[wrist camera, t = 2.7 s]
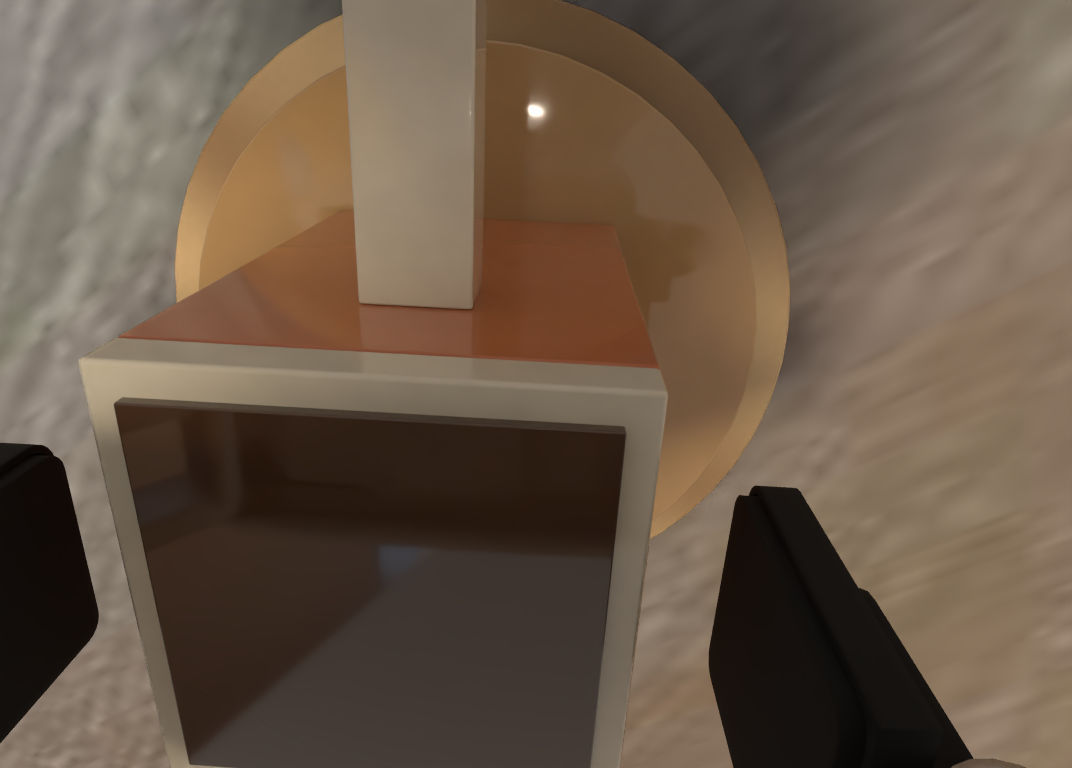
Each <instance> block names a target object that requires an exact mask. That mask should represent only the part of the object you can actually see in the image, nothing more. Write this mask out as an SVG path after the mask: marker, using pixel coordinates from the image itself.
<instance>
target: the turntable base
mask: <svg viewBox="0 0 1072 768" xmlns="http://www.w3.org/2000/svg"><path fill="white" fill-rule="evenodd" d="M486 39H488V40H496V41H504V42H513V43H521V44H525V45H528V46H532V47H536V48H539V49H543V50H547V51H551V52H554V53H558V54H562V55H564V56H567V57H569V58H571V59H574V60H576V61H578V62H581V63H583V64H585V65H587V66H590V67H592V68H594V69H597V70H599V71H601V72H603V73H605V74H606V75H608V76H610V77H611V78H613V79H615V80H616V81H618V82H619V83H621V84H623V85H624V86H626V87H628V88H629V89H631V90H633V91H634V92H636V93H637V94H639V95H640V96H641V97H642V98H644V99H645V100H646V101H647V102H648V103H650V104H651V105H652V106H653V107H655V108H656V109H657V110H658V111H659V112H661V113H662V114H663V115H664V116H665V117H667V118H668V119H669V120H670V121H671V122H672V123H673V124H674V125H675V126H676V127H677V128H678V130H679V131H680V132H681V133H682V134H683V135H684V136H685V137H686V138H687V139H688V141H689V142H690V143H691V144H692V145H693V146H694V147H695V148H696V149H697V150H698V152H699V153H700V155H701V156H702V158H703V159H704V161H705V162H706V164H707V165H708V166H709V168H710V169H711V171H712V172H713V174H714V175H715V177H716V178H717V180H718V181H719V183H720V184H721V186H722V188H723V190H724V192H725V194H726V196H727V198H728V201H729V203H730V205H731V207H732V209H733V211H734V213H735V215H736V217H737V219H738V222H739V225H740V228H741V231H742V234H743V237H744V240H745V244H746V247H747V250H748V253H749V257H750V262H751V268H752V274H753V280H754V285H755V291H756V321H757V329H756V338H755V347H754V357H753V363H752V367H751V371H750V375H749V379H748V383H747V387H746V391H745V395H744V398H743V400H742V403H741V405H740V408H739V410H738V413H737V415H736V418H735V420H734V423H733V425H732V427H731V429H730V431H729V432H728V434H727V436H726V438H725V439H724V441H723V443H722V445H721V446H720V448H719V450H718V452H717V453H716V455H715V456H714V458H713V459H712V460H711V462H710V463H709V464H708V466H707V467H706V468H705V470H704V471H703V472H702V474H701V475H700V476H699V478H698V479H697V480H696V481H695V482H694V483H693V484H692V485H691V487H690V488H689V489H688V490H687V491H686V492H685V493H684V494H683V495H682V496H681V497H680V498H679V499H678V500H677V501H676V502H675V503H674V504H673V505H671V506H670V507H669V508H668V509H666V510H665V511H664V512H663V513H661V514H660V515H659V516H658V517H656V518H655V519H654V520H653V521H652V526H651V534H650V539H651V538H653V537H654V536H656V535H658V534H660V533H661V532H662V531H664V530H665V529H667V528H668V527H669V526H671V525H672V524H674V523H675V522H676V521H678V520H679V519H680V518H682V517H683V516H685V515H686V514H687V513H688V512H690V511H691V510H692V509H693V508H694V507H695V506H696V505H697V504H698V503H699V502H700V501H701V500H702V499H704V498H705V497H706V496H707V495H708V494H709V493H710V492H711V491H712V490H713V489H714V488H715V487H716V486H717V484H718V483H719V482H720V481H721V480H722V478H723V477H724V476H725V475H726V474H727V472H728V471H729V470H730V469H731V468H732V467H733V465H734V464H735V463H736V462H737V460H738V458H739V457H740V455H741V454H742V452H743V451H744V449H745V447H746V446H747V444H748V443H749V441H750V440H751V438H752V437H753V435H754V433H755V432H756V430H757V428H758V425H759V423H760V421H761V419H762V417H763V415H764V413H765V411H766V408H767V406H768V404H769V402H770V400H771V397H772V394H773V391H774V388H775V385H776V381H777V378H778V375H779V372H780V369H781V366H782V362H783V356H784V351H785V345H786V339H787V333H788V328H789V308H790V279H789V269H788V260H787V251H786V243H785V240H784V236H783V232H782V228H781V224H780V220H779V216H778V212H777V208H776V204H775V202H774V199H773V197H772V194H771V192H770V190H769V187H768V185H767V182H766V180H765V177H764V175H763V172H762V170H761V168H760V165H759V163H758V162H757V160H756V158H755V156H754V155H753V153H752V151H751V150H750V148H749V146H748V145H747V143H746V141H745V139H744V138H743V136H742V134H741V133H740V131H739V129H738V128H737V126H736V125H735V124H734V122H733V121H732V120H731V119H730V117H729V116H728V115H727V114H726V112H725V111H724V110H723V109H722V107H721V106H720V105H719V104H718V102H717V101H716V100H715V99H714V97H713V96H712V95H711V94H710V92H709V91H708V90H707V89H706V88H705V87H704V86H703V85H702V84H701V83H699V82H698V81H697V80H696V79H695V78H694V77H693V76H692V75H691V74H690V73H689V72H688V71H687V70H686V69H684V68H683V67H682V66H681V65H680V64H679V63H678V62H677V61H676V60H675V59H674V58H672V57H671V56H669V55H668V54H666V53H665V52H664V51H662V50H661V49H659V48H658V47H656V46H655V45H653V44H652V43H651V42H649V41H648V40H646V39H645V38H643V37H642V36H641V35H639V34H638V33H636V32H634V31H632V30H630V29H628V28H626V27H624V26H622V25H620V24H618V23H616V22H614V21H612V20H610V19H608V18H606V17H604V16H602V15H600V14H598V13H596V12H594V11H592V10H589V9H586V8H583V7H580V6H577V5H574V4H571V3H568V2H565V1H562V0H487V16H486ZM344 65H345V50H344V32H343V14H342V15H340V16H338V17H335V18H333V19H331V20H329V21H327V22H325V23H323V24H320V25H319V26H317V27H316V28H314V29H313V30H311V31H310V32H308V33H307V34H305V35H304V36H302V37H301V38H299V39H298V40H296V41H295V42H293V43H292V44H290V45H289V46H287V47H286V48H284V49H283V50H281V51H280V52H279V53H278V54H277V55H276V56H275V57H274V58H273V59H272V60H271V61H269V62H268V63H267V64H266V65H265V66H264V67H263V68H262V69H261V70H260V71H259V72H257V73H256V74H255V75H254V76H253V77H252V78H251V79H250V80H249V81H248V83H247V84H246V85H245V86H244V88H243V89H242V90H241V91H240V93H239V94H238V95H237V96H236V98H235V99H234V100H233V101H232V103H231V104H230V105H229V106H228V108H227V109H226V110H225V111H224V113H223V114H222V116H221V118H220V119H219V121H218V123H217V125H216V126H215V128H214V130H213V132H212V133H211V135H210V137H209V138H208V140H207V142H206V144H205V145H204V147H203V149H202V151H201V154H200V157H199V159H198V162H197V164H196V167H195V169H194V172H193V174H192V177H191V179H190V182H189V185H188V187H187V191H186V196H185V200H184V204H183V209H182V213H181V217H180V221H179V226H178V236H177V247H176V258H175V279H176V299H177V303H178V302H179V301H181V300H183V299H185V298H186V297H188V296H190V295H192V294H193V293H195V292H197V291H199V275H200V260H201V255H202V250H203V245H204V240H205V235H206V230H207V225H208V223H209V220H210V217H211V214H212V211H213V209H214V206H215V203H216V200H217V197H218V194H219V192H220V190H221V188H222V186H223V184H224V182H225V180H226V179H227V177H228V175H229V173H230V171H231V169H232V167H233V165H234V164H235V162H236V160H237V158H238V157H239V156H240V154H241V153H242V151H243V150H244V149H245V147H246V146H247V145H248V143H249V142H250V141H251V139H252V138H253V137H254V135H255V134H256V133H257V131H258V130H259V129H260V128H261V127H262V126H263V125H264V124H265V123H266V122H267V121H268V120H269V119H270V118H271V117H272V116H273V115H274V114H275V113H276V112H277V111H278V110H279V109H280V108H281V107H282V106H283V105H284V104H285V103H286V102H287V101H288V100H290V99H291V98H293V97H294V96H295V95H297V94H298V93H300V92H301V91H302V90H304V89H305V88H306V87H308V86H309V85H311V84H312V83H313V82H315V81H316V80H318V79H319V78H321V77H323V76H325V75H327V74H329V73H330V72H332V71H334V70H336V69H338V68H340V67H342V66H344Z"/></svg>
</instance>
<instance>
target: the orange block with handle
mask: <svg viewBox="0 0 1072 768" xmlns="http://www.w3.org/2000/svg"><path fill="white" fill-rule="evenodd" d="M342 14H343V32H344V50H345V65H344V66H342V67H340V68H338V69H336V70H334V71H332V72H330V73H329V74H327V75H325V76H323V77H321V78H319V79H318V80H316V81H315V82H313V83H312V84H311V85H309V86H308V87H306V88H305V89H304V90H302V91H301V92H300V93H298V94H297V95H295V96H294V97H293V98H291V99H290V100H288V101H287V102H286V103H285V104H284V105H283V106H282V107H281V108H280V109H279V110H278V111H277V112H276V113H275V114H274V115H273V116H272V117H271V118H270V119H269V120H268V121H267V122H266V123H265V124H264V125H263V126H262V127H261V128H260V129H259V130H258V131H257V133H256V134H255V135H254V137H253V138H252V139H251V141H250V142H249V143H248V145H247V146H246V147H245V149H244V150H243V151H242V153H241V154H240V156H239V157H238V158H237V160H236V162H235V164H234V165H233V167H232V169H231V171H230V173H229V175H228V177H227V179H226V180H225V182H224V184H223V186H222V188H221V190H220V192H219V194H218V197H217V200H216V203H215V206H214V209H213V211H212V214H211V217H210V220H209V223H208V225H207V230H206V235H205V240H204V245H203V250H202V255H201V260H200V275H199V291H197V292H195V293H193V294H192V295H190V296H188V297H186V298H185V299H183V300H181V301H179V302H178V303H176V304H174V305H172V306H170V307H169V308H167V309H165V310H163V311H162V312H160V313H158V314H156V315H155V316H153V317H151V318H149V319H148V320H146V321H144V322H142V323H140V324H139V325H137V326H135V327H133V328H132V329H130V330H128V331H126V332H125V333H123V334H121V335H119V337H118V338H116V339H113V340H111V341H109V342H108V343H106V344H104V345H102V346H101V347H99V348H97V349H95V350H94V351H92V352H90V353H88V354H87V355H85V356H83V357H81V358H80V359H79V362H78V365H79V369H80V374H81V378H82V383H83V387H84V391H85V396H86V400H87V405H88V409H89V413H90V418H91V422H92V427H93V431H94V435H95V440H96V444H97V449H98V453H99V457H100V462H101V466H102V471H103V475H104V479H105V484H106V488H107V493H108V497H109V502H110V506H111V510H112V515H113V519H114V524H115V528H116V532H117V537H118V541H119V546H120V550H121V554H122V559H123V563H124V568H125V572H126V576H127V581H128V585H129V590H130V594H131V598H132V603H133V607H134V612H135V616H136V620H137V625H138V629H139V634H140V638H141V642H142V647H143V651H144V656H145V660H146V665H147V669H148V673H149V678H150V682H151V687H152V691H153V695H154V700H155V704H156V709H157V713H158V717H159V722H160V726H161V731H162V735H163V739H164V744H165V748H166V753H167V757H168V761H169V766H170V768H620V764H621V756H622V748H623V741H624V733H625V725H626V718H627V710H628V702H629V695H630V687H631V679H632V672H633V664H634V656H635V649H636V641H637V633H638V626H639V618H640V610H641V603H642V595H643V587H644V580H645V572H646V565H647V557H648V549H649V542H650V534H651V526H652V521H653V520H654V519H655V518H656V517H658V516H659V515H660V514H661V513H663V512H664V511H665V510H666V509H668V508H669V507H670V506H671V505H673V504H674V503H675V502H676V501H677V500H678V499H679V498H680V497H681V496H682V495H683V494H684V493H685V492H686V491H687V490H688V489H689V488H690V487H691V485H692V484H693V483H694V482H695V481H696V480H697V479H698V478H699V476H700V475H701V474H702V472H703V471H704V470H705V468H706V467H707V466H708V464H709V463H710V462H711V460H712V459H713V458H714V456H715V455H716V453H717V452H718V450H719V448H720V446H721V445H722V443H723V441H724V439H725V438H726V436H727V434H728V432H729V431H730V429H731V427H732V425H733V423H734V420H735V418H736V415H737V413H738V410H739V408H740V405H741V403H742V400H743V398H744V395H745V391H746V387H747V383H748V379H749V375H750V371H751V367H752V363H753V357H754V347H755V338H756V329H757V321H756V291H755V285H754V280H753V274H752V268H751V262H750V257H749V253H748V250H747V247H746V244H745V240H744V237H743V234H742V231H741V228H740V225H739V222H738V219H737V217H736V215H735V213H734V211H733V209H732V207H731V205H730V203H729V201H728V198H727V196H726V194H725V192H724V190H723V188H722V186H721V184H720V183H719V181H718V180H717V178H716V177H715V175H714V174H713V172H712V171H711V169H710V168H709V166H708V165H707V164H706V162H705V161H704V159H703V158H702V156H701V155H700V153H699V152H698V150H697V149H696V148H695V147H694V146H693V145H692V144H691V143H690V142H689V141H688V139H687V138H686V137H685V136H684V135H683V134H682V133H681V132H680V131H679V130H678V128H677V127H676V126H675V125H674V124H673V123H672V122H671V121H670V120H669V119H668V118H667V117H665V116H664V115H663V114H662V113H661V112H659V111H658V110H657V109H656V108H655V107H653V106H652V105H651V104H650V103H648V102H647V101H646V100H645V99H644V98H642V97H641V96H640V95H639V94H637V93H636V92H634V91H633V90H631V89H629V88H628V87H626V86H624V85H623V84H621V83H619V82H618V81H616V80H615V79H613V78H611V77H610V76H608V75H606V74H605V73H603V72H601V71H599V70H597V69H594V68H592V67H590V66H587V65H585V64H583V63H581V62H578V61H576V60H574V59H571V58H569V57H567V56H564V55H562V54H558V53H554V52H551V51H547V50H543V49H539V48H536V47H532V46H528V45H525V44H521V43H513V42H504V41H496V40H488V39H486V16H487V0H342Z"/></svg>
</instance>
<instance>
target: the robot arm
mask: <svg viewBox="0 0 1072 768" xmlns="http://www.w3.org/2000/svg"><path fill="white" fill-rule="evenodd" d="M98 618H99V613H98V607H97V603H96V599H95V594H94V590H93V586H92V582H91V577H90V573H89V569H88V565H87V560H86V556H85V552H84V548H83V543H82V539H81V535H80V531H79V526H78V522H77V518H76V514H75V510H74V505H73V501H72V497H71V493H70V488H69V484H68V480H67V476H66V471H65V467H64V465H63V462H62V461H61V460H60V459H59V458H57V457H55V456H54V455H53V453H52V452H51V451H50V450H49V448H47V447H45V446H43V445H31V444H14V443H0V743H1V742H2V741H3V740H4V738H5V737H6V736H7V735H8V734H9V733H10V732H11V730H12V729H13V728H14V727H15V726H16V725H17V723H18V722H19V721H20V720H21V719H22V718H23V717H24V715H25V714H26V713H27V712H28V711H29V710H30V708H31V707H32V706H33V705H34V704H35V703H36V702H37V700H38V699H39V698H40V697H41V696H42V695H43V694H44V692H45V691H46V690H47V689H48V688H49V687H50V685H51V684H52V683H53V682H54V681H55V680H56V679H57V677H58V676H59V675H60V674H61V673H62V672H63V670H64V669H65V668H66V667H67V666H68V665H69V664H70V662H71V661H72V660H73V659H74V658H75V657H76V655H77V654H78V653H79V652H80V651H81V650H82V649H83V647H84V646H85V645H86V644H87V643H88V642H89V640H90V639H91V638H92V636H93V635H94V632H95V630H96V628H97V624H98ZM709 671H710V677H711V681H712V685H713V689H714V693H715V697H716V701H717V705H718V709H719V713H720V717H721V720H722V724H723V728H724V732H725V736H726V740H727V744H728V748H729V752H730V756H731V760H732V764H733V767H734V768H1025V767H1023V766H1021V765H1018V764H1013V763H1009V762H1005V761H1001V760H996V759H973V757H972V755H971V754H970V752H969V750H968V749H967V747H966V746H965V744H964V742H963V741H962V739H961V738H960V736H959V734H958V733H957V731H956V730H955V728H954V726H953V725H952V723H951V721H950V720H949V718H948V717H947V715H946V713H945V712H944V710H943V709H942V707H941V705H940V704H939V702H938V701H937V699H936V697H935V696H934V694H933V693H932V691H931V689H930V688H929V686H928V684H927V683H926V681H925V680H924V678H923V676H922V675H921V673H920V672H919V670H918V668H917V667H916V665H915V664H914V662H913V660H912V659H911V657H910V655H909V654H908V652H907V651H906V649H905V647H904V646H903V644H902V643H901V641H900V639H899V638H898V636H897V635H896V633H895V631H894V630H893V628H892V627H891V625H890V623H889V622H888V620H887V618H886V617H885V615H884V614H883V612H882V610H881V609H880V607H879V606H878V604H877V602H876V601H875V599H874V598H873V597H872V596H871V595H870V593H869V592H868V591H865V590H863V589H861V588H858V587H857V585H856V583H855V582H854V580H853V578H852V577H851V575H850V573H849V572H848V570H847V569H846V567H845V565H844V564H843V562H842V560H841V559H840V557H839V555H838V554H837V552H836V550H835V549H834V547H833V545H832V544H831V542H830V540H829V539H828V537H827V535H826V534H825V532H824V530H823V529H822V527H821V525H820V524H819V522H818V520H817V519H816V517H815V515H814V514H813V512H812V510H811V509H810V507H809V505H808V504H807V502H806V500H805V499H804V497H803V495H802V494H801V492H800V491H799V490H798V489H797V488H786V487H769V486H754V487H753V488H752V489H751V491H750V494H749V496H742V495H739V496H738V497H737V499H736V502H735V506H734V512H733V517H732V523H731V529H730V534H729V540H728V546H727V551H726V557H725V563H724V568H723V574H722V580H721V585H720V591H719V597H718V602H717V608H716V613H715V619H714V625H713V630H712V636H711V642H710V648H709Z"/></svg>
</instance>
